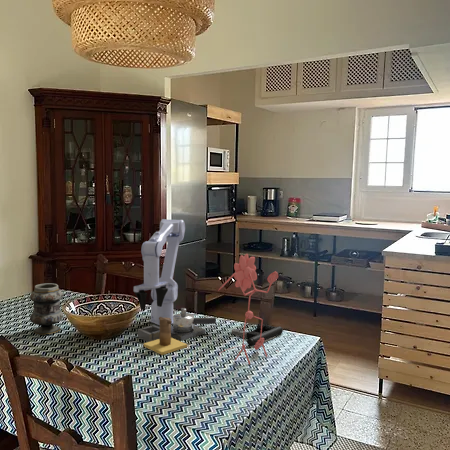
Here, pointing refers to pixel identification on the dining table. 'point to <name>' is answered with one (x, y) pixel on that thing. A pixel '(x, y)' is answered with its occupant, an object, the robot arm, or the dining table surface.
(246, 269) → the pink stick man
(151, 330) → the socket
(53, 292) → the apothecary jar
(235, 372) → the dining table surface
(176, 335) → the chuck stand
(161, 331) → the brown upright block
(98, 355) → the dining table surface
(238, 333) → the door handle
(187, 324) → the lidded saucepan
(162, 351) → the mat
